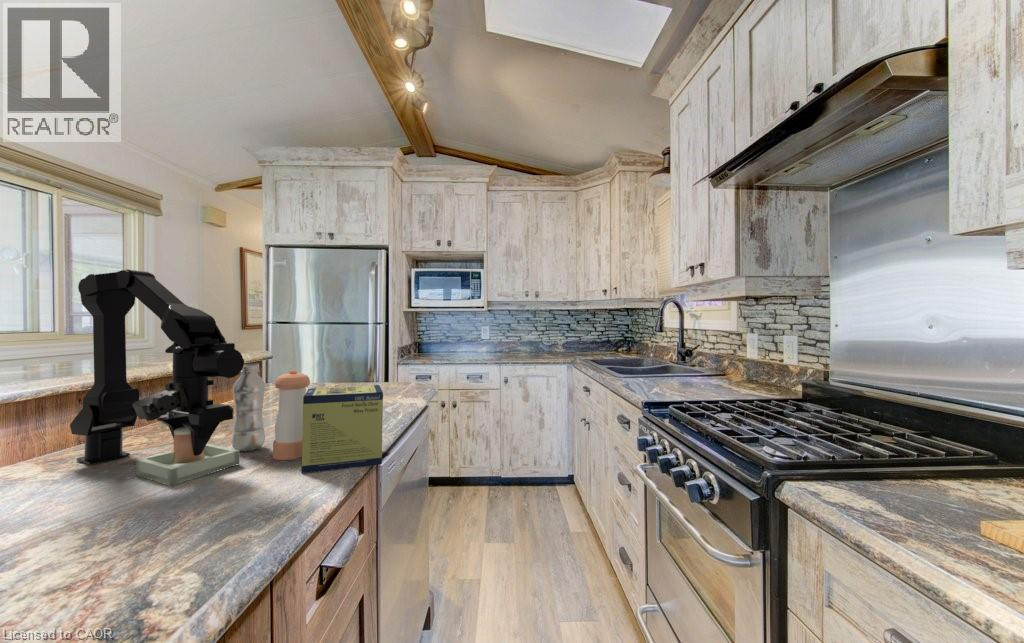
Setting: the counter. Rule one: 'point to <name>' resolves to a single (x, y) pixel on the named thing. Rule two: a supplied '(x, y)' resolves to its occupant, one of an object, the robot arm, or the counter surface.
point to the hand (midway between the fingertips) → (189, 453)
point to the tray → (185, 465)
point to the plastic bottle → (248, 409)
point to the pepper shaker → (290, 415)
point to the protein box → (342, 428)
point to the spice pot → (184, 447)
